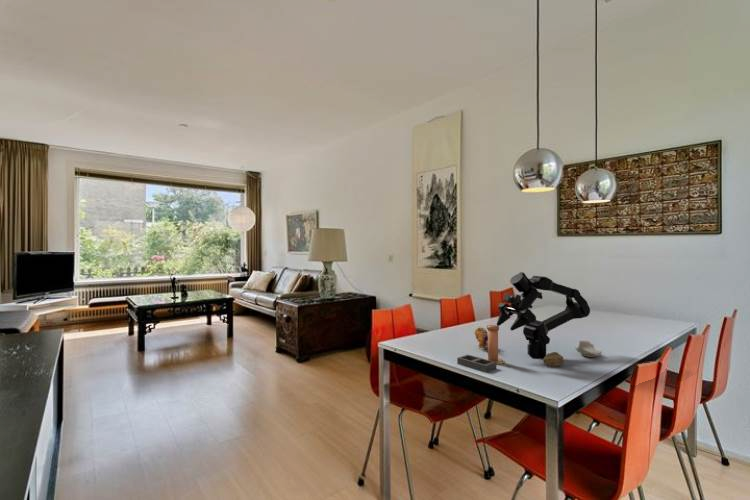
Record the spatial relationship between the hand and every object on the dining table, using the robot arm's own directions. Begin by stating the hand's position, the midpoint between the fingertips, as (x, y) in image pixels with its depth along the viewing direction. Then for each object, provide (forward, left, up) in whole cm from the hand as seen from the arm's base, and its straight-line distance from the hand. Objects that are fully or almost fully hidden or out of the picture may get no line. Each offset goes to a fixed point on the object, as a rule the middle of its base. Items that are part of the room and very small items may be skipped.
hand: (503, 327), depth 151 cm
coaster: (+5, +2, -14) cm, 15 cm away
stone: (-19, +2, -14) cm, 23 cm away
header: (+13, +8, -14) cm, 20 cm away
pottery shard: (-37, -8, -14) cm, 40 cm away
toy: (+5, -17, -14) cm, 22 cm away
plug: (+5, +2, -13) cm, 14 cm away
